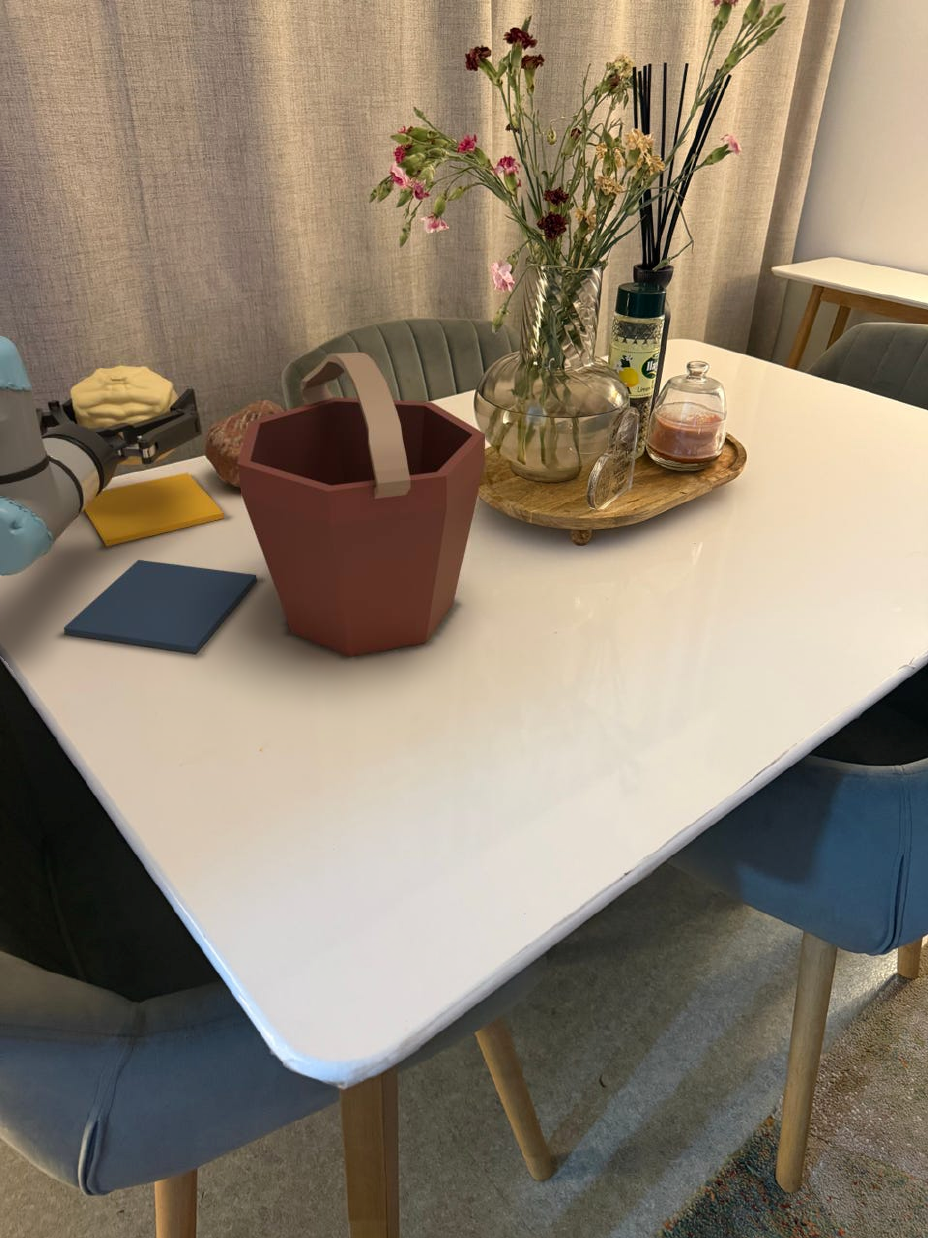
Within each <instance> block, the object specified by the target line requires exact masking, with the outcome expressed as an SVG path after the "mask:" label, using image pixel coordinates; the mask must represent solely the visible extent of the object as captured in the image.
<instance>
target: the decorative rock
mask: <svg viewBox="0 0 928 1238" xmlns="http://www.w3.org/2000/svg"><path fill="white" fill-rule="evenodd" d="M281 412H284V409H283V408H282V407H281V406H280V405H279V404H278V403H275V402H273V401H271V400H268V399H263V400H257V401H254V402H252V403H250V404H248V405H246V406H244V407H243V408H240V410H238V411H237V412H235V413H234V414H231V415H230V416H227V417H226V418H222V419H221V418H220V419H219V420H216V421H215V422H213V423H212V424H211V425H210V427H209V428H208V430H207V433H206V436H205V447H204V448H205V449H204V456H205V458H206V460H208V461H209V463H210V464H211V466H212V467H213V469H214V470H215V472H216V474H217V475H218V477H219V478H220V479H221V480H222V482H224V483H225V484H228V485H230V486H234V487H237V488H241V487H240V480H239V473H238V466H237V463H238V459H239V455H240V452H241V448H242V445H243V441H244V438H245V434H246V431H247V427H248V424H249V421H253V420H256V419H260V418H263V417H267V416H270V415H274V414H277V413H281Z"/></svg>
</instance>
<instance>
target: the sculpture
mask: <svg viewBox="0 0 928 1238" xmlns="http://www.w3.org/2000/svg"><path fill="white" fill-rule="evenodd" d="M69 392H70V398H71V399H72V403H73V409H74V411H75V418H76V420H77V423H78V425H81V426H84V427H87V428H93V429H95V428H98V427H109V426H112V425H116V424H119V423H122V422H125V423H128V424H130V425H131V424H134V423H137V422H140V421H143V420H146V419H149V418H152V417H156V416H159V415H162V414H165V413H168V412H170V407H171V406H172V405H173V404H174V403H175V401H176V400H177V399H178V398H179V396H178V394H177V393H176V391H175V389H174V384H173V382H172V381H169V380H168V379H166V378H164V377H162V376H161V375H160V374H159V373H156V372H155V371H152V370H150V368H149V367H148V366H146V365H145V366H143V365H142V366H130V365H129V366H128V365H117V366H115V367H111V368H104V367H103V368H102V367H99V368H97V369H95V371H94V372H93V373H92V374H91V375H90V376H89V377H86V378H85V379H84V380H82V381H80V382H78V383H77V384H75V385H73V386H72V387H71V388H70V391H69ZM119 434H120V435H121V436H122V438H123V439H124V437H123V433H122V432H120V433H119ZM175 449H176V448H174V449H172V450H171V451H169V452H167V453H165V454H163V455H161V456H159V457H158V458H157V459H156V460H155V461H154V462H153V463H156V462H158V461H160V460H163V459H164V458H166V457H168V456H169V455H170V454H171V453H173V452H174V451H175ZM118 465H123V466H137V465H143V464H142V460H141V457H128V459H127V460H125V461H123V462H121V463H119V464H118Z"/></svg>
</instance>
